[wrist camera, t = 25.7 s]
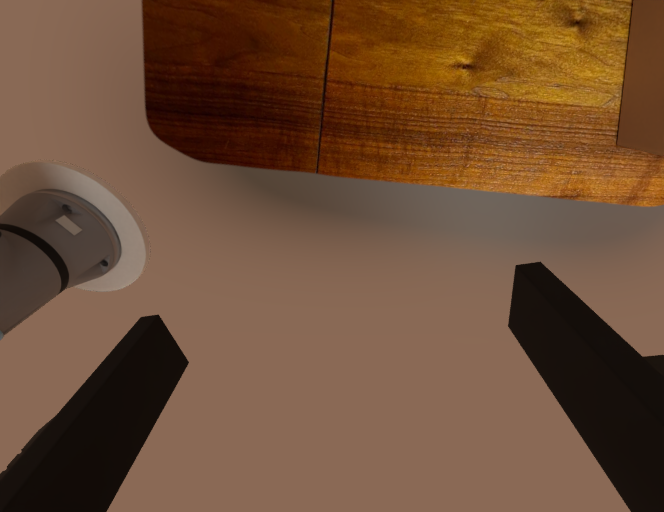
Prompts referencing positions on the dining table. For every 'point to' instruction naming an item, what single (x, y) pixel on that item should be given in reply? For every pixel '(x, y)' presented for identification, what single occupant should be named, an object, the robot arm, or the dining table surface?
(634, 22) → the cabinet door
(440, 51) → the dining table surface
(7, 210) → the robot arm
